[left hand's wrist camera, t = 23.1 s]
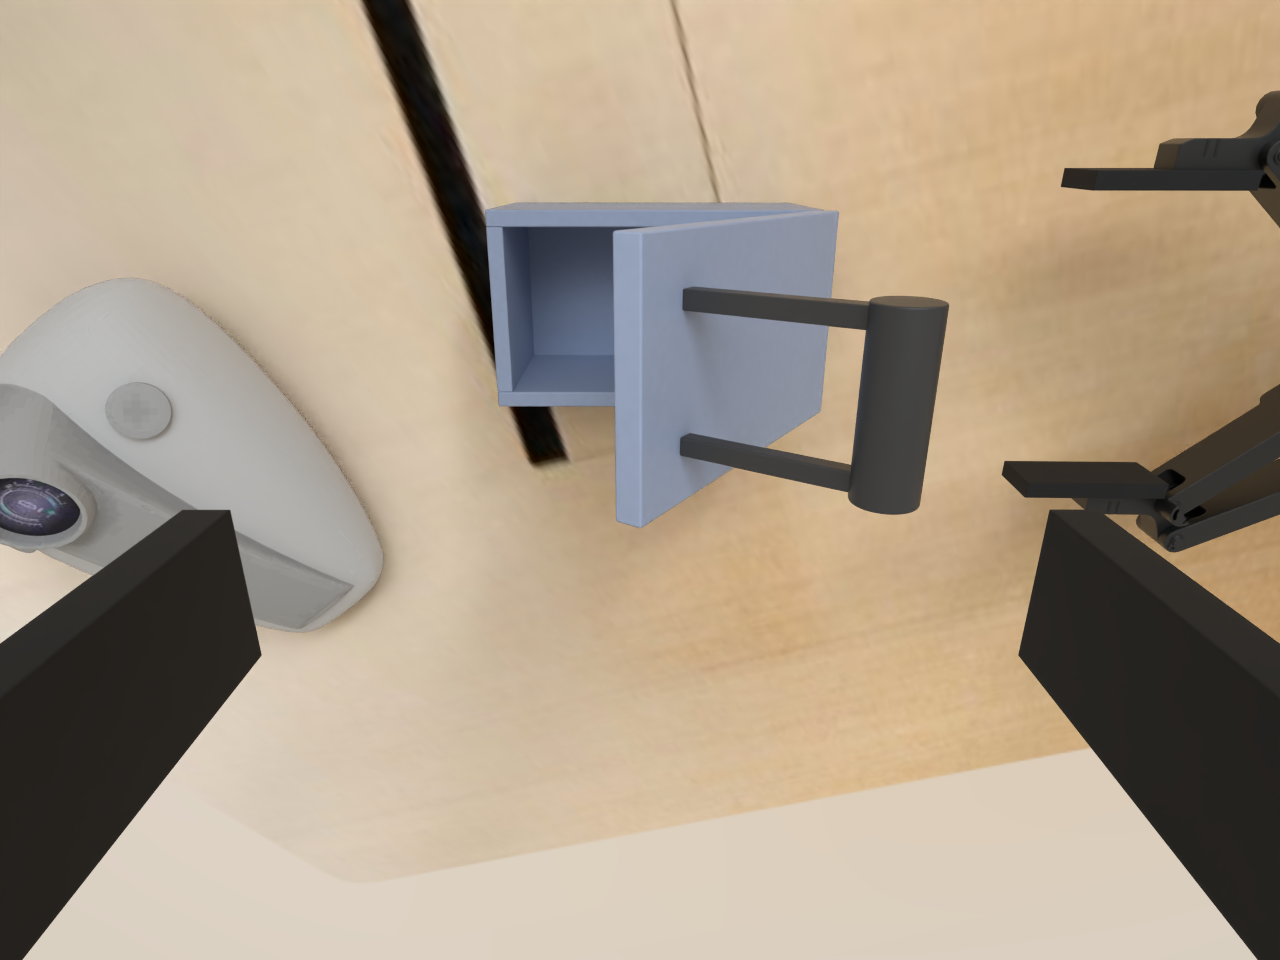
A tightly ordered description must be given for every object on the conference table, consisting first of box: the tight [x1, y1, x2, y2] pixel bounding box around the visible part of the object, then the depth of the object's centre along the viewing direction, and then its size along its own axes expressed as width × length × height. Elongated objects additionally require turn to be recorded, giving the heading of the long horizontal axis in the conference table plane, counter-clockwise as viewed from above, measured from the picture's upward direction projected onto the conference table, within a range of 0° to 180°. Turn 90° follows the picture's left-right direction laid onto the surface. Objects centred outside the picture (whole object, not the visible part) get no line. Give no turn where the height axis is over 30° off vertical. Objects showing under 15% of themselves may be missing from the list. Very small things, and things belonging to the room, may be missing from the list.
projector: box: [0, 278, 383, 632], centre depth 43 cm, size 22×23×15 cm
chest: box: [485, 203, 825, 406], centre depth 42 cm, size 16×9×9 cm, turn 90°
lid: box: [613, 210, 949, 528], centre depth 28 cm, size 16×9×9 cm
